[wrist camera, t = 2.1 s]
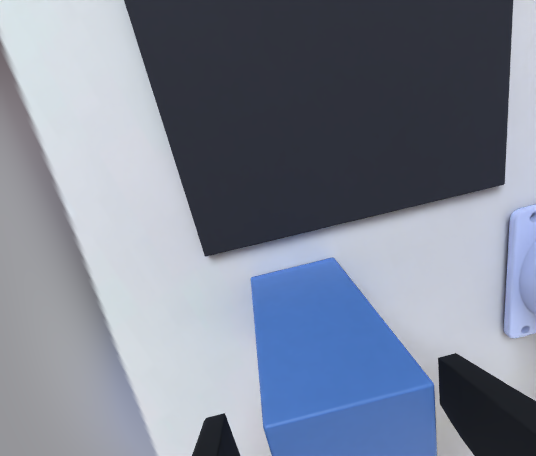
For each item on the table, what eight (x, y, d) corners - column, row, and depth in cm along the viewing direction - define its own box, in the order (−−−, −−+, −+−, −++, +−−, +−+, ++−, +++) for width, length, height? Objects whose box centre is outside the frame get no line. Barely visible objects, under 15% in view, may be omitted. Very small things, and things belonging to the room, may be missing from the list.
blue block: (333, 256, 15) (435, 383, 7) (344, 326, 16) (439, 496, 8) (250, 277, 15) (263, 428, 7) (268, 345, 16) (295, 534, 8)
